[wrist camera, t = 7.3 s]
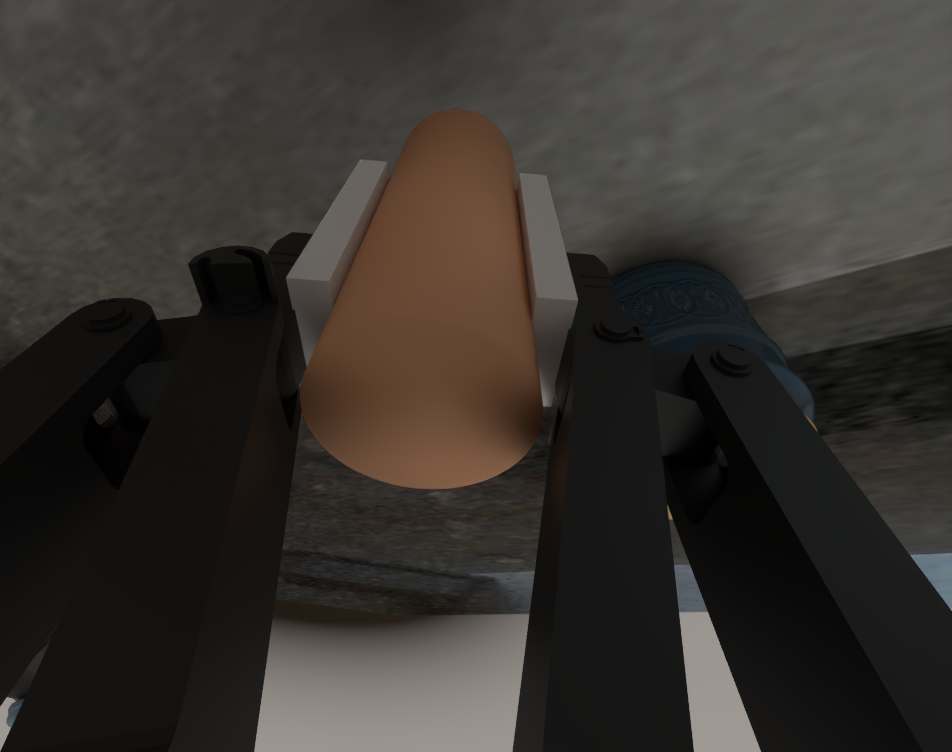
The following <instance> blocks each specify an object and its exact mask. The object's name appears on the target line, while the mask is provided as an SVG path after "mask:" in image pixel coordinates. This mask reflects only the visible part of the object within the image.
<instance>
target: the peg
mask: <svg viewBox="0 0 952 752" xmlns="http://www.w3.org/2000/svg"><path fill="white" fill-rule="evenodd" d="M300 404H301V410H302V413H303V416H304V419H305V422H306V423H307V425H308V427H309V429H310V431H311V433H312V434H313V435H314V437H315V438H316V440H317V441H318V442H319V443H320V444H321V445H322V446H323V447H324V448H325V450H327V451H328V452H329V453H330V454H331V455H332V456H334V457H335V458H336V459H338V460H339V461H340V462H342V463H343V464H345V465H346V466H348V467H350V468H352V469H353V470H355V471H357V472H359V473H361V474H364V475H366V476H368V477H371V478H373V479H376V480H379V481H382V482H386V483H390V484H393V485H398V486H404V487H409V488H419V489H446V488H455V487H462V486H467V485H471V484H475V483H478V482H482V481H485V480H487V479H490V478H492V477H494V476H497V475H499V474H500V473H502V472H504V471H506V470H507V469H509V468H510V467H512V466H513V465H515V464H516V463H517V462H518V461H519V460H521V459H522V458H523V457H524V456H525V455H526V454H527V452H528V451H529V450H530V448H531V447H532V446H533V444H534V443H535V441H536V439H537V437H538V435H539V432H540V429H541V426H542V420H543V400H542V392H541V384H540V375H539V367H538V359H537V350H536V342H535V334H534V329H533V325H532V319H531V310H530V301H529V293H528V284H527V276H526V267H525V259H524V250H523V242H522V233H521V225H520V216H519V207H518V199H517V185H516V177H515V168H514V161H513V156H512V152H511V149H510V146H509V144H508V142H507V140H506V138H505V137H504V135H503V134H502V132H501V131H500V130H499V129H498V128H497V126H495V125H494V124H493V123H492V122H491V121H490V120H488V119H487V118H485V117H483V116H481V115H479V114H477V113H474V112H471V111H468V110H461V109H451V110H444V111H441V112H437V113H435V114H433V115H431V116H429V117H427V118H426V119H424V120H423V121H422V122H421V123H419V124H418V125H417V126H416V127H415V129H414V130H413V131H412V132H411V134H410V136H409V137H408V139H407V141H406V143H405V146H404V148H403V150H402V152H401V155H400V157H399V159H398V161H397V164H396V166H395V168H394V171H393V173H392V175H391V177H390V180H389V182H388V184H387V186H386V189H385V191H384V193H383V195H382V198H381V200H380V202H379V205H378V207H377V209H376V211H375V214H374V216H373V218H372V220H371V223H370V225H369V227H368V229H367V232H366V234H365V236H364V238H363V241H362V243H361V245H360V248H359V250H358V252H357V254H356V257H355V259H354V261H353V263H352V266H351V268H350V270H349V272H348V275H347V277H346V279H345V281H344V284H343V286H342V288H341V291H340V293H339V295H338V297H337V300H336V302H335V304H334V306H333V309H332V311H331V313H330V315H329V318H328V320H327V322H326V324H325V327H324V329H323V331H322V334H321V336H320V338H319V340H318V343H317V345H316V347H315V349H314V352H313V354H312V356H311V358H310V361H309V363H308V365H307V368H306V370H305V372H304V374H303V378H302V382H301V386H300Z"/></svg>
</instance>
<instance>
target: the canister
mask: <svg viewBox="0 0 952 752" xmlns="http://www.w3.org/2000/svg"><path fill="white" fill-rule="evenodd" d="M612 283H613V285H614V290H615V291H616V293H617V296H618V299H619V301H620V304H621V307H622V309H623V312H624V315H625V316H627V317H629V318H631V319H633V320H635V321H636V322H638V323H639V324H640V325H641V326H642V327H644V328H645V329H646V331H647V333H648V336H649V338H650V344H651V345H653V346H655V347H658V348H661V349H663V350H667V351H670V352H674V353H677V354H681V355H685V356H688V357H691V355H692V353H693V351H694V349H695V347H696V345H698V344H700V343H702V342H704V341H712V340H718V341H725V342H731V343H735V344H736V345H740V346H743V347H745V348H746V349H748V350H749V351H751V352H753V353H754V354H756V355H757V356H759V357H760V358H761V359H762V360H763V361H764V362H765V363H766V364H767V366H768V367H769V368H770V370H771V371H772V372H773V374H774V375H775V376H776V378H777V379H778V380H779V382H780V383H781V384H782V386H783V387H784V388H785V390H786V391H787V392H788V394H789V395H790V396H791V398H792V399H793V400H794V402H795V403H796V404H797V406H798V407H799V408H800V410H801V411H802V412H803V414H804V415H805V416H806V418H807V419H808V420H809V422H810V423H811V424H812V426H813V427H814V428H815V430H816V431H817V429H816V427H815V426H814V424H813V421H814V416H815V404H814V399H813V395H812V393H811V391H810V389H809V387H808V386H807V384H806V383H805V382H804V381H803V380H802V379H801V378H800V377H799V376H798V375H797V374H796V373H795V372H793V371H792V370H790V369H788V364H787V360H786V358H785V356H784V354H783V352H782V351H781V349H780V348H779V347H778V345H777V344H776V343H775V342H774V341H773V340H771V339H770V338H769V337H768V336H767V335H766V334H765V332H764V331H763V330H762V328H761V327H760V325H759V324H758V323H757V321H756V320H755V318H754V317H753V316H752V314H751V313H750V312H749V308H748V306H747V304H746V302H745V300H744V298H743V297H742V296H741V294H740V293H739V292H738V290H737V289H736V288H735V287H734V286H733V285H732V284H731V283H730V282H729V281H728V280H727V279H725V278H724V277H722V276H720V275H719V274H717V273H716V272H714V271H713V270H711V269H709V268H707V267H705V266H702V265H699V264H696V263H692V262H685V261H663V262H656V263H651V264H647V265H643V266H640V267H637V268H635V269H632V270H630V271H628V272H626V273H624V274H622V275H620V276H618V277H617V278H615V279H614V280H612ZM667 506H668V505H667ZM668 515H669V519H672V520H673V518H672V516H671V513H670V511H669V508H668Z"/></svg>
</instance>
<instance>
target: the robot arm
mask: <svg viewBox="0 0 952 752" xmlns="http://www.w3.org/2000/svg"><path fill="white" fill-rule="evenodd" d="M387 184H388V163H387V162H385V161H373V160H361V159H360V161H359V162H358V164H357V165H356V167H355V169H354V170H353V172H352V173H351V175H350V177H349V178H348V180H347V181H346V183H345V185H344V186H343V188H342V189H341V191H340V193H339V194H338V196H337V197H336V199H335V201H334V202H333V204H332V205H331V207H330V208H329V210H328V212H327V213H326V215H325V216H324V218H323V220H322V221H321V223H320V224H319V226H318V228H317V229H316V231H315V232H314V234H308V233H295V232H292V233H290V234H288V235H287V236H285V237H283V238H281V239H279V240H278V241H276V243H275V244H274V245H273V247H272V248H271V249H270V251H269V252H268V254H266V253H265V252H264V251H263V250H260V249H257V248H254V247H248V246H227V247H220V248H216V249H212V250H208V251H206V252H204V253H202V254H200V255H198V256H195V257H194V258H193V259H192V260H191V261H190V262H189V263H188V265H189V268H190V271H191V274H192V277H193V279H194V282H195V285H196V288H197V291H198V294H199V296H200V299H201V302H202V307H201V309H200V312H199V314H198V315H196V316H190V317H181V318H172V319H163V320H157V319H156V317H155V314H154V312H153V310H152V307H151V306H150V305H148V304H147V303H146V302H144V301H141V300H137V299H133V298H112V299H108V300H106V299H105V300H100V301H97V302H95V303H93V304H91V305H88V306H85V307H82V308H81V309H79V310H77V311H76V312H74V313H72V314H71V315H69V316H68V317H67V318H65V319H64V320H63V321H62V322H60V323H59V324H58V325H57V326H55V327H54V328H53V329H52V330H50V331H49V332H48V333H47V334H45V335H44V336H43V337H41V338H40V339H39V340H38V341H36V342H35V343H34V344H33V345H31V346H30V347H29V348H28V349H26V350H25V351H24V352H22V353H21V354H20V355H19V356H17V357H16V358H15V359H14V360H12V361H11V362H10V363H9V364H7V365H6V366H5V367H4V368H2V369H1V370H0V706H1V705H2V703H3V702H4V700H5V699H6V697H9V698H13V699H14V700H15V701H16V702H14V703H12V704H11V706H10V708H9V709H8V717H7V725H8V726H9V727H11V729H10V732H9V734H8V736H7V738H6V741H5V743H4V745H3V747H2V749H1V751H0V752H254V748H255V740H256V734H257V726H258V719H259V712H260V704H261V698H262V690H263V683H264V676H265V669H266V661H267V655H268V647H269V640H270V633H271V626H272V619H273V611H274V604H275V597H276V590H277V583H278V575H279V568H280V561H281V554H282V547H283V539H284V532H285V525H286V518H287V511H288V503H289V496H290V489H291V482H292V475H293V468H294V460H295V453H296V446H297V439H298V432H299V424H300V417H301V404H300V389H299V384H300V382H301V380H302V377H303V374H304V372H305V370H306V368H307V365H308V363H309V361H310V358H311V356H312V354H313V352H314V349H315V347H316V345H317V343H318V340H319V338H320V336H321V334H322V331H323V329H324V327H325V324H326V322H327V320H328V318H329V315H330V313H331V311H332V309H333V306H334V304H335V302H336V300H337V297H338V295H339V293H340V291H341V288H342V286H343V284H344V281H345V279H346V277H347V275H348V272H349V270H350V268H351V266H352V263H353V261H354V259H355V257H356V254H357V252H358V250H359V248H360V245H361V243H362V241H363V238H364V236H365V234H366V232H367V229H368V227H369V225H370V223H371V220H372V218H373V216H374V214H375V211H376V209H377V207H378V205H379V202H380V200H381V198H382V195H383V193H384V191H385V189H386V186H387ZM517 199H518V207H519V216H520V225H521V233H522V242H523V250H524V259H525V267H526V276H527V284H528V293H529V301H530V310H531V319H532V325H533V329H534V334H535V342H536V350H537V359H538V367H539V375H540V384H541V392H542V400H543V406H547V407H551V406H552V402H553V398H554V394H555V390H556V394H557V400H558V406H557V410H556V414H555V417H554V421H553V425H552V429H551V432H550V436H549V440H548V444H547V445H551V446H550V454H549V462H548V470H547V478H546V486H545V494H544V502H543V510H542V518H541V527H540V535H539V543H538V551H537V559H536V567H535V575H534V583H533V591H532V599H531V607H530V615H529V624H528V632H527V639H526V648H525V656H524V664H523V672H522V680H521V688H520V696H519V704H518V712H517V721H516V728H515V736H514V745H513V752H694V749H693V739H692V730H691V721H690V712H689V703H688V694H687V684H686V674H685V665H684V656H683V646H682V637H681V627H680V619H679V609H678V599H677V590H676V581H675V571H674V562H673V553H672V543H671V534H670V525H669V515H668V508H669V511H670V513H671V516H672V518H673V521H674V524H675V526H676V529H677V532H678V534H679V537H680V539H681V542H682V545H683V547H684V550H685V553H686V555H687V558H688V560H689V563H690V566H691V568H692V571H693V574H694V576H695V579H696V581H697V584H698V587H699V589H700V592H701V595H702V597H703V600H704V603H705V605H706V608H707V610H708V613H709V616H710V618H711V621H712V624H713V626H714V629H715V631H716V634H717V637H718V639H719V642H720V645H721V647H722V650H723V652H724V655H725V658H726V660H727V663H728V665H729V668H730V671H731V673H732V676H733V678H734V681H735V684H736V686H737V689H738V692H739V694H740V697H741V699H742V702H743V705H744V708H745V710H746V713H747V715H748V718H749V721H750V723H751V726H752V728H753V731H754V734H755V736H756V739H757V742H758V744H759V747H760V750H761V752H952V611H951V609H950V608H949V607H948V605H947V604H946V603H945V601H944V600H943V599H942V597H941V596H940V595H939V593H938V592H937V591H936V589H935V588H934V587H933V585H932V584H931V583H930V581H929V580H928V579H927V577H926V576H925V575H924V573H923V572H922V571H921V569H920V568H919V567H918V565H917V564H916V563H915V561H914V560H913V559H912V557H911V556H910V555H909V553H908V552H907V551H906V549H905V548H904V547H903V545H902V544H901V543H900V541H899V540H898V539H897V537H896V536H895V535H894V533H893V532H892V531H891V529H890V528H889V527H888V525H887V524H886V523H885V522H884V520H883V519H882V518H881V516H880V515H879V514H878V512H877V511H876V510H875V508H874V507H873V506H872V504H871V503H870V502H869V500H868V499H867V498H866V496H865V495H864V494H863V492H862V491H861V490H860V488H859V487H858V486H857V484H856V483H855V482H854V480H853V479H852V478H851V476H850V475H849V474H848V472H847V471H846V470H845V468H844V467H843V466H842V464H841V463H840V462H839V460H838V459H837V458H836V456H835V455H834V454H833V452H832V451H831V450H830V448H829V447H828V446H827V444H826V443H825V442H824V440H823V439H822V438H821V436H820V435H819V434H818V432H817V431H816V430H815V428H814V427H813V426H812V424H811V423H810V422H809V420H808V419H807V418H806V416H805V415H804V414H803V412H802V411H801V410H800V408H799V407H798V406H797V404H796V403H795V402H794V400H793V399H792V398H791V396H790V395H789V394H788V392H787V391H786V390H785V388H784V387H783V386H782V384H781V383H780V382H779V380H778V379H777V378H776V376H775V375H774V374H773V372H772V371H771V370H770V368H769V367H768V366H767V364H766V363H765V362H764V361H763V360H762V359H761V358H760V357H759V356H757V355H756V354H754V353H753V352H751V351H749V350H748V349H746V348H745V347H743V346H740V345H736V344H735V343H731V342H725V341H718V340H712V341H704V342H702V343H700V344H698V345H696V347H695V349H694V351H693V353H692V355H691V357H688V356H685V355H681V354H677V353H674V352H670V351H667V350H663V349H661V348H658V347H655V346H653V345H651V344H650V338H649V336H648V333H647V331H646V329H645V328H644V327H642V326H641V325H640V324H639V323H638V322H636V321H635V320H633V319H631V318H629V317H627V316H625V315H624V312H623V309H622V307H621V304H620V301H619V299H618V296H617V293H616V291H615V290H614V285H613V283H612V280H610V278H611V277H610V275H609V272H608V269H607V267H606V265H605V264H603V263H602V262H601V261H600V260H599V259H598V258H597V257H596V256H595V255H588V254H575V253H566V251H565V247H564V243H563V239H562V235H561V232H560V228H559V224H558V220H557V216H556V212H555V208H554V204H553V200H552V197H551V193H550V189H549V185H548V181H547V177H546V175H535V174H524V173H520V174H519V181H518V189H517ZM103 403H105V404H106V406H107V408H108V409H109V411H110V413H111V414H112V415H111V416H110V417H109V418H108V419H107V421H105V422H104V423H103V424H101V425H99V424H98V423H97V422H96V420H95V419H94V417H93V416H92V414H93V413H94V412H95V411H96V410H97V409H98V408H99V407H100V406H101V405H102V404H103ZM667 505H668V506H667Z"/></svg>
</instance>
